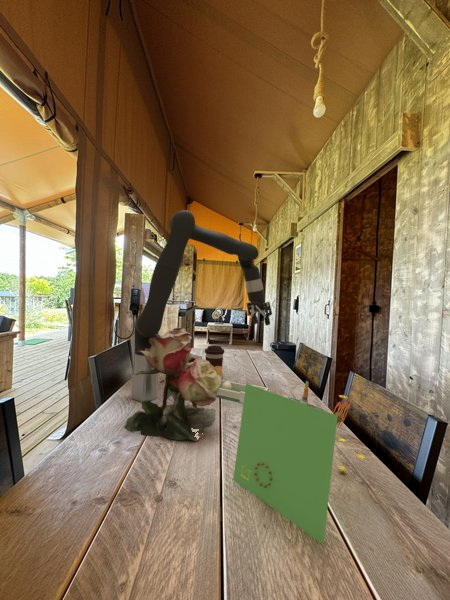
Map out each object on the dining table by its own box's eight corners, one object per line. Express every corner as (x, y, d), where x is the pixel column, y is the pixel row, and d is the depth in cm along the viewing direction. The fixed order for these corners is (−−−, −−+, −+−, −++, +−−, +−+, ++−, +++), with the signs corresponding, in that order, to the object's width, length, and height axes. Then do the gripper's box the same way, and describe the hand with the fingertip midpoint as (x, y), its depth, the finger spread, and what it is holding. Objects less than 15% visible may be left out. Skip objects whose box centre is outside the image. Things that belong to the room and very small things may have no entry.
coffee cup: (223, 379, 138) (224, 348, 138) (202, 378, 138) (204, 347, 138) (223, 373, 148) (224, 345, 148) (204, 372, 148) (205, 344, 148)
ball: (228, 393, 116) (229, 383, 115) (220, 391, 117) (220, 382, 117) (232, 390, 119) (233, 381, 119) (224, 389, 121) (224, 379, 121)
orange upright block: (215, 390, 117) (216, 369, 117) (210, 389, 118) (210, 368, 118) (222, 387, 123) (222, 366, 122) (216, 385, 124) (217, 365, 124)
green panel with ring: (375, 499, 64) (385, 392, 66) (321, 546, 47) (337, 402, 49) (293, 456, 80) (303, 371, 82) (231, 480, 63) (246, 373, 65)
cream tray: (259, 406, 106) (259, 396, 106) (204, 394, 117) (204, 384, 117) (268, 397, 116) (268, 388, 116) (217, 386, 127) (217, 377, 127)
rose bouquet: (213, 446, 77) (217, 337, 76) (116, 432, 83) (119, 330, 82) (230, 409, 102) (233, 326, 102) (154, 400, 108) (157, 322, 107)
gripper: (239, 292, 132) (246, 325, 134) (258, 291, 120) (265, 327, 122) (251, 288, 136) (258, 321, 138) (271, 287, 124) (278, 323, 125)
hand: (261, 324), depth 130 cm, fingers open, 8 cm apart
